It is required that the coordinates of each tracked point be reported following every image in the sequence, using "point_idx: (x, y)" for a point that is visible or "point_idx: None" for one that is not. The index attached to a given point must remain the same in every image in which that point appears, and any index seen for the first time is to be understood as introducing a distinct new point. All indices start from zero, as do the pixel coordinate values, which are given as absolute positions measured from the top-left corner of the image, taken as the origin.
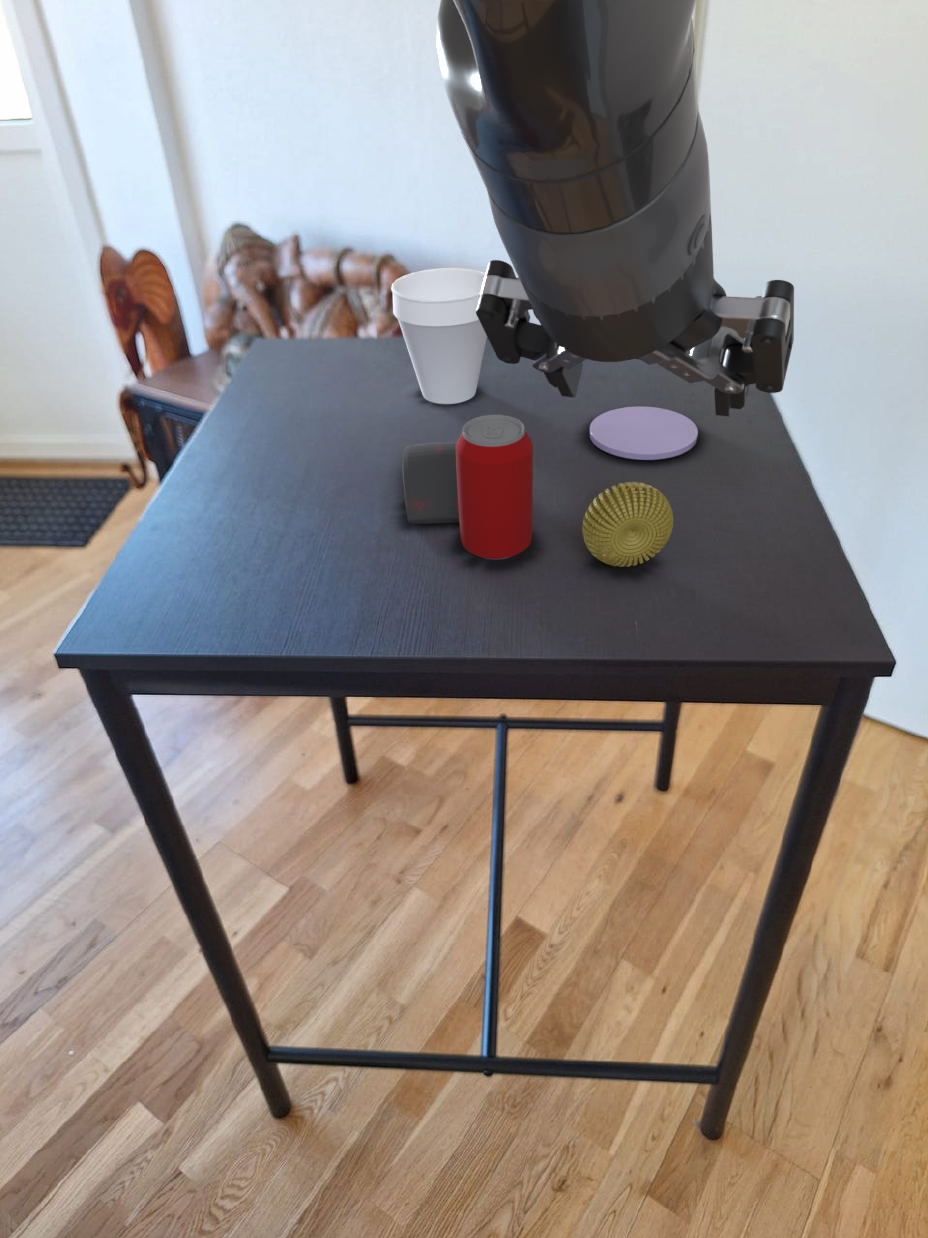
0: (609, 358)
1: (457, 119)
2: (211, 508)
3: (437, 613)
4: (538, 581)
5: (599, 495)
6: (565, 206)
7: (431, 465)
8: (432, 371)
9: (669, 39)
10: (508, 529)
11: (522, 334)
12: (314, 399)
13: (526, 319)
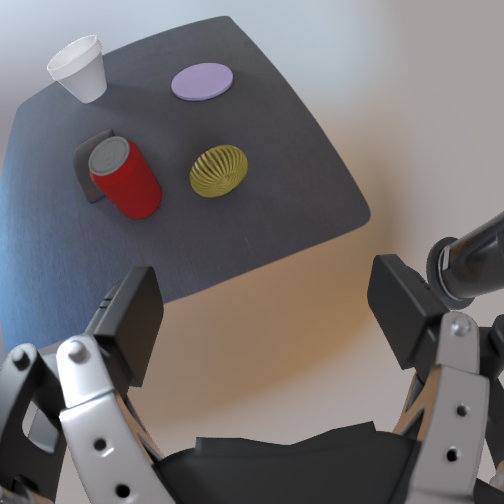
0: None
1: None
2: (10, 235)
3: None
4: (176, 223)
5: (195, 165)
6: None
7: (88, 162)
8: (80, 92)
9: None
10: (145, 203)
11: (51, 404)
12: (35, 131)
13: (35, 388)
